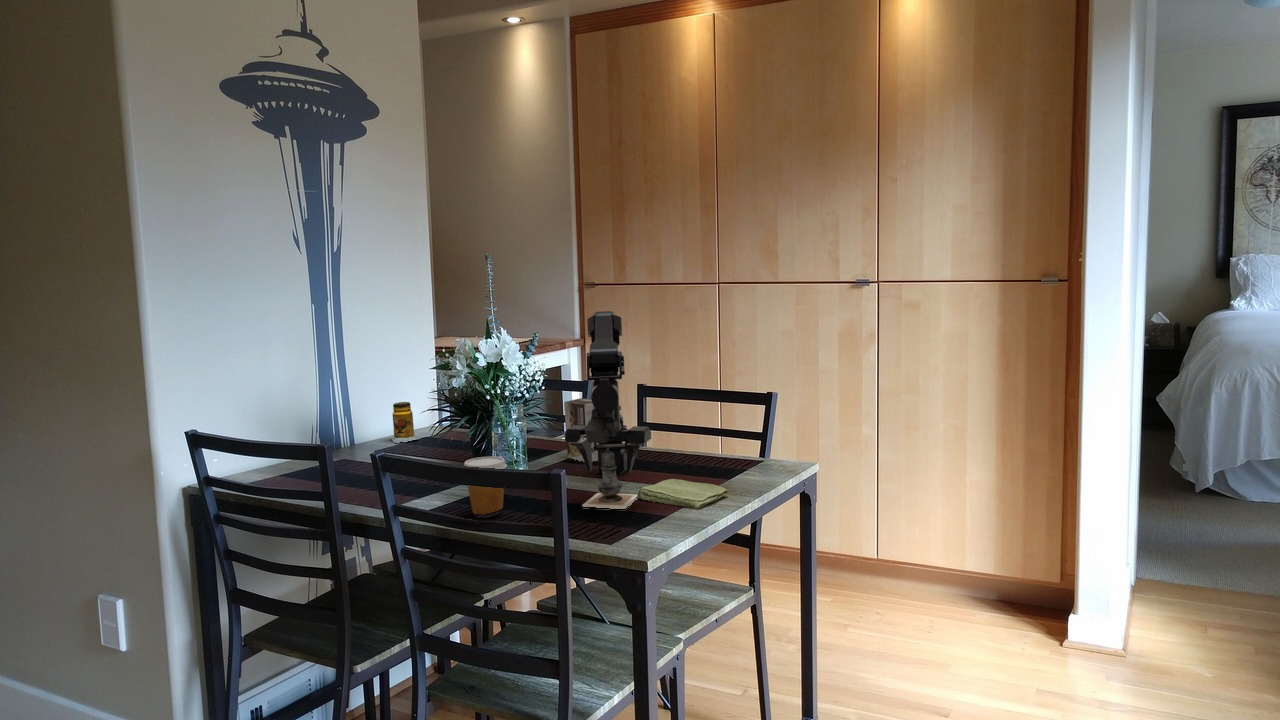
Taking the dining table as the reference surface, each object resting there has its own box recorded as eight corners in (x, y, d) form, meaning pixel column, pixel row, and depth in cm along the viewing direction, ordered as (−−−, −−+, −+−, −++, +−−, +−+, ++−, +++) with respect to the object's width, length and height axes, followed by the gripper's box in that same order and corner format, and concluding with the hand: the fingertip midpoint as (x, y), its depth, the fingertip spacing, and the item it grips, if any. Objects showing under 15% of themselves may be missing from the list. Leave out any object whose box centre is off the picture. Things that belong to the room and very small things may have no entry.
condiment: (395, 444, 278) (392, 405, 277) (390, 439, 286) (387, 402, 285) (419, 441, 282) (416, 403, 280) (413, 436, 289) (410, 399, 288)
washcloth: (700, 512, 195) (699, 498, 194) (634, 501, 205) (633, 487, 205) (731, 497, 205) (731, 484, 205) (667, 488, 216) (667, 475, 215)
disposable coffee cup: (513, 507, 203) (510, 455, 202) (505, 520, 194) (502, 465, 192) (471, 509, 203) (467, 456, 202) (461, 521, 194) (457, 467, 192)
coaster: (582, 508, 200) (582, 504, 200) (597, 495, 210) (597, 492, 210) (625, 510, 197) (625, 506, 197) (638, 497, 207) (638, 494, 207)
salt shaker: (620, 502, 200) (618, 449, 199) (594, 502, 201) (591, 449, 200) (625, 495, 206) (623, 443, 204) (600, 495, 207) (597, 444, 206)
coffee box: (605, 459, 246) (602, 400, 245) (587, 463, 242) (584, 404, 240) (584, 454, 253) (581, 397, 251) (566, 458, 249) (563, 400, 247)
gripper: (553, 409, 196) (556, 479, 198) (635, 410, 190) (638, 483, 192) (572, 400, 207) (575, 467, 208) (650, 401, 201) (653, 470, 203)
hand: (609, 472), depth 203 cm, fingers open, 9 cm apart
